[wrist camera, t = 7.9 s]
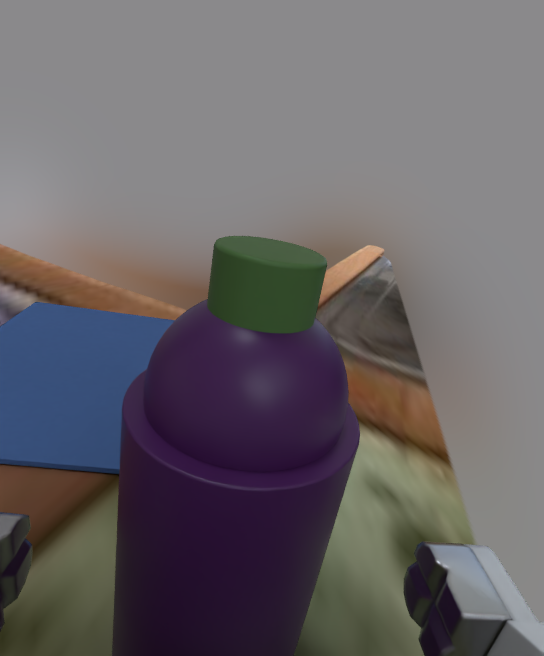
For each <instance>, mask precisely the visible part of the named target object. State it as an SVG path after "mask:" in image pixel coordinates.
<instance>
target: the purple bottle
mask: <svg viewBox="0 0 544 656" xmlns="http://www.w3.org/2000/svg"><path fill="white" fill-rule="evenodd" d="M326 267H327V261H326V258H325V257H323V256H322V255H320V254H319V253H317V252H315V251H313V250H311V249H308V248H305V247H302V246H299V245H295V244H292V243H287V242H283V241H278V240H273V239H267V238H260V237H250V236H229V237H223V238H219V239H218V240H216V242H215V244H214V250H213V259H212V267H211V276H210V285H209V292H208V299H207V300H204V301H202V302H200V303H198V304H197V305H195V306H193V307H192V308H190V309H189V310H187V311H186V312H185V313H183V314H182V315H181V316H180V317H178V318H177V319H176V320H175V321H174V322H173V323H172V324H171V326H170V327H169V328H168V329H167V330H166V331H165V333H164V334H163V336H162V337H161V339H160V340H159V342H158V343H157V345H156V347H155V349H154V351H153V353H152V355H151V358H150V361H149V365H148V368H147V369H146V370H144V371H143V372H142V373H141V374H139V375H138V376H137V377H136V378H135V379H134V380H133V381H132V383H131V384H130V386H129V388H128V389H127V391H126V393H125V396H124V399H123V405H122V420H121V445H120V470H119V495H118V520H117V545H116V570H115V595H114V620H113V645H112V656H294V653H295V650H296V646H297V643H298V640H299V637H300V633H301V630H302V627H303V624H304V620H305V617H306V614H307V611H308V607H309V604H310V601H311V598H312V594H313V591H314V588H315V585H316V581H317V578H318V575H319V572H320V568H321V565H322V562H323V559H324V555H325V552H326V549H327V546H328V542H329V539H330V536H331V533H332V529H333V526H334V523H335V520H336V516H337V513H338V510H339V507H340V503H341V500H342V497H343V494H344V490H345V487H346V484H347V481H348V477H349V474H350V471H351V468H352V464H353V461H354V458H355V455H356V451H357V448H358V445H359V438H360V431H359V424H358V420H357V417H356V415H355V413H354V411H353V409H352V407H351V406H350V404H349V403H348V382H347V374H346V370H345V366H344V362H343V359H342V357H341V354H340V352H339V350H338V347H337V345H336V344H335V342H334V340H333V339H332V337H331V336H330V334H329V332H328V331H327V330H326V329H325V328H324V326H323V325H322V324H321V323H320V322H319V321H318V320H317V319H316V318H315V316H316V312H317V307H318V303H319V298H320V294H321V290H322V285H323V281H324V276H325V272H326Z"/></svg>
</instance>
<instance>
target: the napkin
mask: <svg viewBox="0 0 544 656" xmlns="http://www.w3.org/2000/svg"><path fill="white" fill-rule="evenodd" d="M174 321H175V320H168V319H160V318H153V317H145V316H138V315H130V314H123V313H115V312H108V311H100V310H93V309H85V308H78V307H71V306H63V305H56V304H48V303H41V302H35V303H34V304H32V305H31V306H29V307H28V308H26V309H25V310H23V311H22V312H21V313H19V314H18V315H16V316H15V317H13V318H12V319H10V320H9V321H8V322H6V323H5V324H3V325H2V326H0V464H10V465H21V466H33V467H44V468H56V469H67V470H79V471H90V472H101V473H113V474H119V470H120V445H121V420H122V405H123V399H124V396H125V393H126V391H127V389H128V388H129V386H130V384H131V383H132V381H133V380H134V379H135V378H136V377H137V376H138V375H139V374H141V373H142V372H143V371H144V370H146V369H147V368H148V365H149V361H150V358H151V355H152V353H153V351H154V349H155V347H156V345H157V343H158V342H159V340H160V339H161V337H162V336H163V334H164V333H165V331H166V330H167V329H168V328H169V327H170V326H171V324H172V323H173V322H174Z"/></svg>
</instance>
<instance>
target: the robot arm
mask: <svg viewBox="0 0 544 656" xmlns="http://www.w3.org/2000/svg"><path fill="white" fill-rule="evenodd" d="M30 528H31V527H30V519H29V516H28V515H23V514H13V513H3V512H0V631H1V629H2V627H3V625H4V624H5V622H4V612H3V609H4V608H6V607H7V606H8V605H10V604H11V603H12V602H13V601H15V600H16V599H17V598H18V596H19V594H20V592H21V590H22V588H23V586H24V584H25V582H26V579H27V575H28V572H29V569H30V566H31V560H32V544H31V543H30V542H29V541H28V540H27V539H26V538H25V537H26V535H27V534H28V532H29V530H30ZM414 555H415V557H416V560H417V562H415V563H414V564H412V565H411V566H410V567H408V569H407V571H406V574H405V577H404V597H405V602H406V606H407V609H408V611H409V614H410V617H411V618H412V619H413V620H414V621H415V622H416V623H417V624H418V625H419V626H420V627H421V631H420V635H419V642H420V645H421V647H422V650H423V653H424V656H544V622H539V621H538V620H537V618H536V617H535V615H534V614H533V612H532V610H531V609H530V608H529V606H528V604H527V603H526V601H525V599H524V598H523V596H522V595H521V593H520V592H519V590H518V589H517V587H516V585H515V584H514V582H513V581H512V579H511V578H510V576H509V574H508V573H507V571H506V570H505V568H504V567H503V565H502V563H501V562H500V560H499V559H498V558H497V556H496V554H495V553H494V551H493V550H492V549H491V548H489V547H488V546H481V545H467V544H465V545H463V544H457V543H439V542H421V543H420V544H418V545H417V547H416V550H415V552H414Z"/></svg>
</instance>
